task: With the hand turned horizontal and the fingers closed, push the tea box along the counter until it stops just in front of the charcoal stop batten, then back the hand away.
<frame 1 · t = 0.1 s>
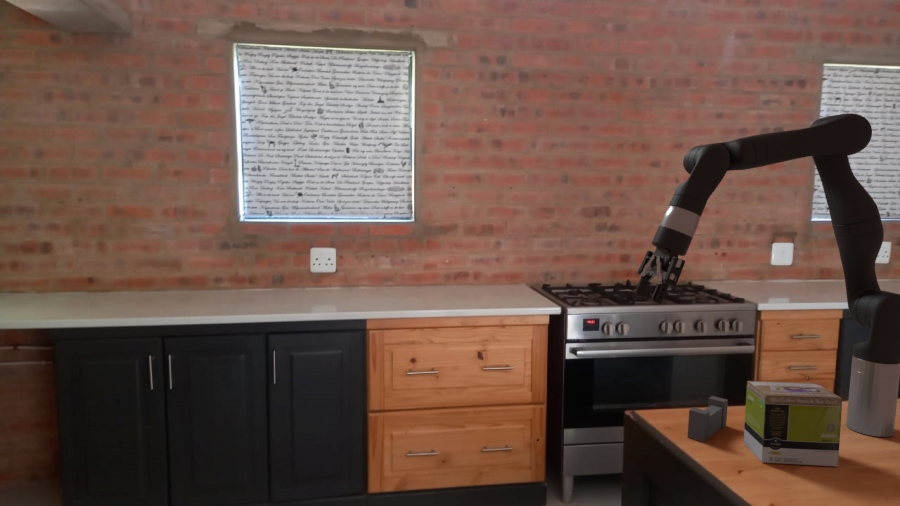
hand: (647, 298, 130), 31 cm above the worktop, tool tilted 20°, fingers open, 8 cm apart
stop batten: (708, 431, 136), on the worktop
tea box: (787, 456, 125), on the worktop
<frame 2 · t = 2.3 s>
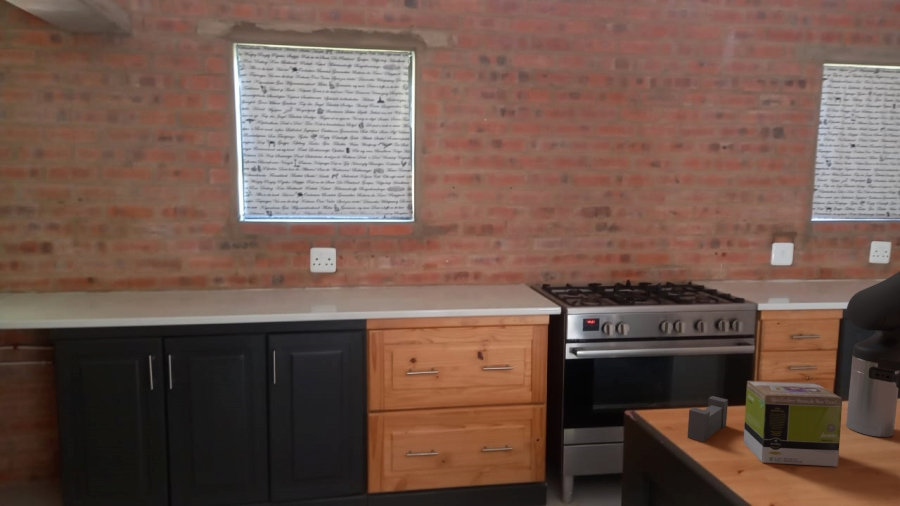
hand: (873, 367, 113), 22 cm above the worktop, tool horizontal, fingers open, 8 cm apart
nothing on the worktop moved.
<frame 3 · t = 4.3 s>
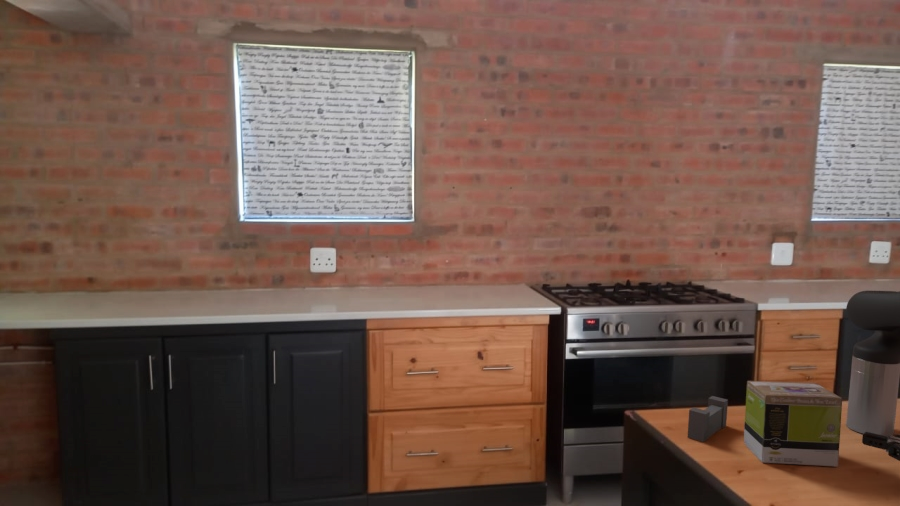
hand: (863, 437, 115), 8 cm above the worktop, tool horizontal, fingers closed
nothing on the worktop moved.
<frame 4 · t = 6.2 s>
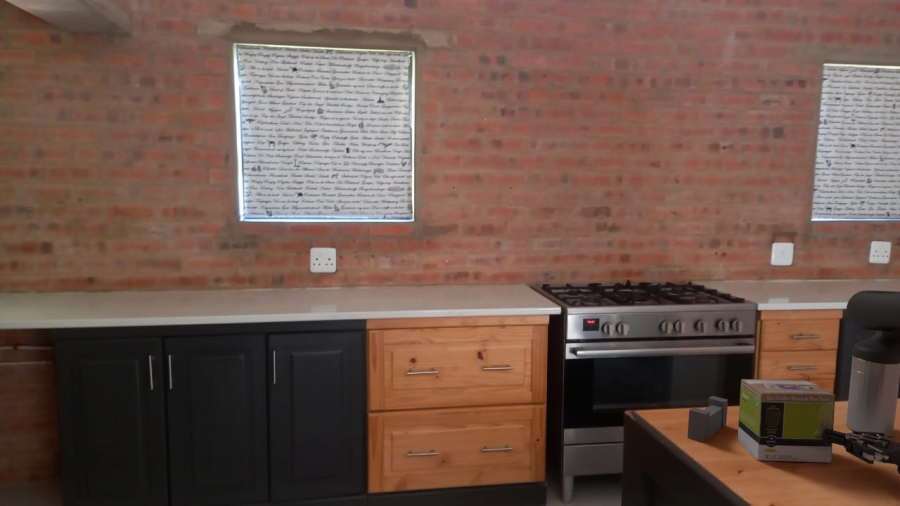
hand: (823, 434, 120), 7 cm above the worktop, tool horizontal, fingers closed
tea box: (781, 453, 126), on the worktop, touching gripper
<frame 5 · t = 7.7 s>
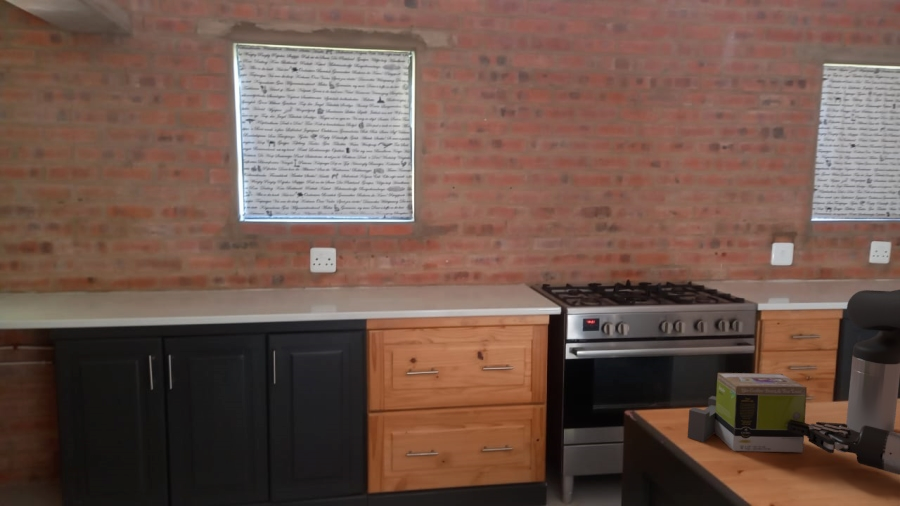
hand: (788, 425, 124), 7 cm above the worktop, tool horizontal, fingers closed
tea box: (756, 444, 130), on the worktop, touching gripper
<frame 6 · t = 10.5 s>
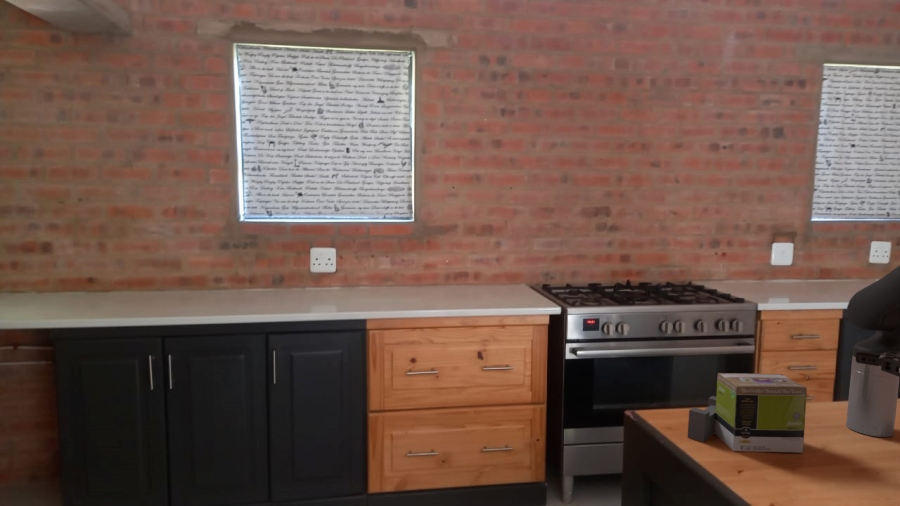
hand: (856, 356, 115), 24 cm above the worktop, tool horizontal, fingers closed
tea box: (756, 444, 130), on the worktop
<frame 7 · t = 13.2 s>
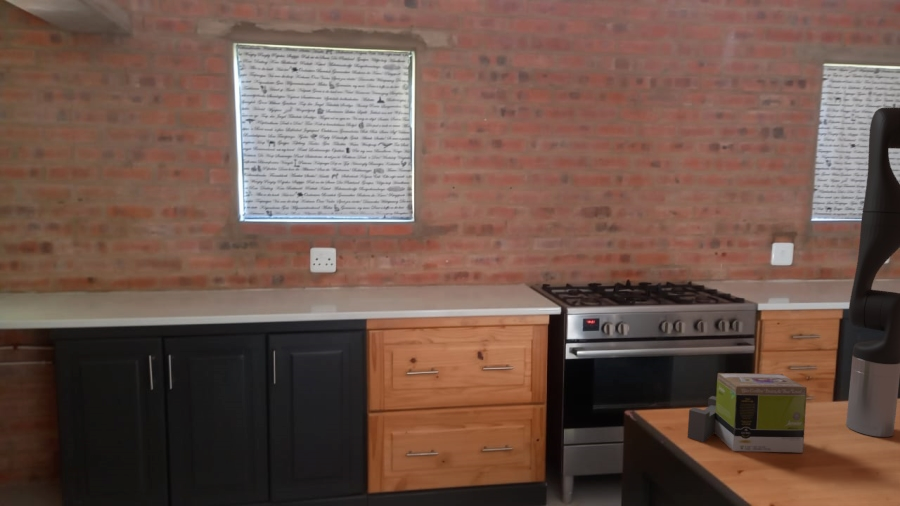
nothing on the worktop moved.
at the end: tea box inside the target area (1.5 cm from its centre), on the worktop; tea box tilted 0°; the gripper is holding nothing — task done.
